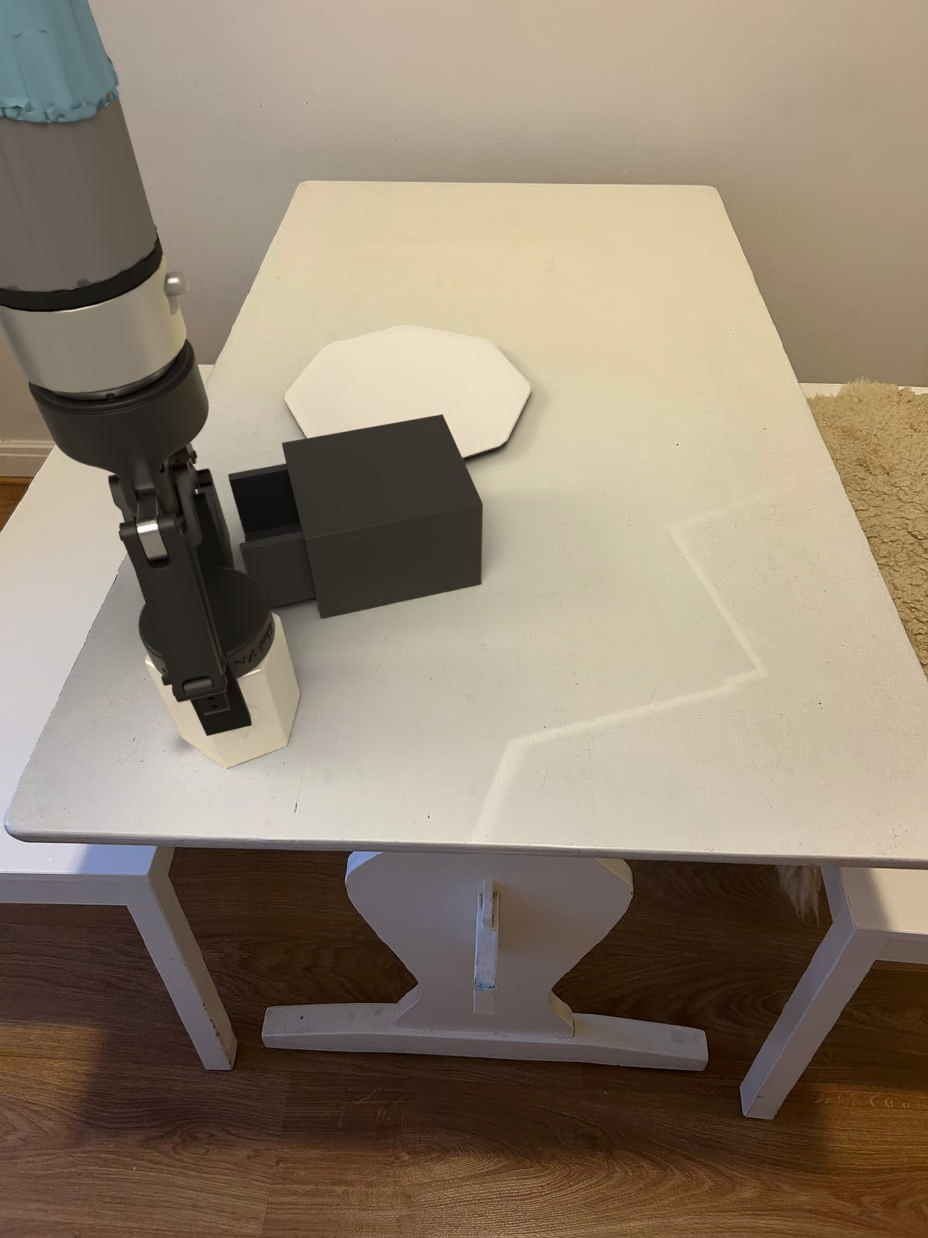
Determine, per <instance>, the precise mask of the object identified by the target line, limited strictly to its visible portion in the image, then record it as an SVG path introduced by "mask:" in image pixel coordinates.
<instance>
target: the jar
mask: <svg viewBox="0 0 928 1238" xmlns="http://www.w3.org/2000/svg"><path fill="white" fill-rule="evenodd" d="M201 572H202V576H203V580H204V584H205V588H206V592H207V596H208V600H209V604H210V608H211V612H212V616H213V620H214V624H215V627H216V631H217V635H218V639H219V643H220V647H221V651H224V650H226V652H227V654H228V657H229V660H230V662H231V665H232V668H233V670H234V673H235V676H236V678H237V681H238V684H239V686H240V689H241V691H242V694H243V697H244V699H245V702H246V705H247V707H248V710H249V713H250V715H251V722H252V725H251V726H247V727H243V728H239V729H235V730H231V731H227V732H223V733H218V734H214V735H210V736H206V733H205V731H204V729H203V727H202V725H201V723H200V720H199V718H198V716H197V714H196V712H195V710H194V708H193V705H192V703H191V701H190V700H188V701H184V702H180V703H178V702H177V701H176V698H175V697H174V696H173V693H172V685H167V686H164V684H163V682H162V679H161V677H162V675H163V674H164V673H166V672H167V669H166V666H165V663H164V660H163V656H162V653H161V650H160V647H159V644H158V641H157V638H156V635H155V631H154V628H153V625H152V622H151V619H150V616H149V613H148V610H147V606H146V603H145V602H144V604H143V605H142V606H143V607H142V608H141V610H140V614H139V617H138V624H137V625H138V633H139V638H140V640H141V643H142V645H143V646H144V649H145V651H146V656H145V658H144V664H145V666H146V668H147V670H148V672H149V674H150V677H151V678H152V680H153V683H154V685H155V686H156V689H157V691H158V693H159V694H160V697H161V698H162V701H163V703H164V706H165V707H166V709H167V711H168V713H169V715H170V717H171V719H172V721H173V723H174V725H175V727H176V730H177V731H178V734H179V736H180V738H181V739H182V740H184V741H185V742H186V743H188V744H189V745H191V746H192V747H194V748H195V749H197V750H198V751H199V752H201V754H203V755H205V756H206V757H208V758H209V759H211V760H212V761H213V762H214V763H216V764H218V765H219V766H220V767H221V768H222V769H229V768H233V767H235V766H237V765H241V764H243V763H245V762H248V761H250V760H251V761H252V760H253V759H256V758H258V757H262V756H264V755H267V754H269V753H272V752H274V751H278V750H280V749H282V748H285V747H287V745H288V744H289V740H290V736H291V732H292V729H293V724H294V721H295V718H296V714H297V713H296V712H297V709H298V706H299V701H300V697H301V692H300V688H299V684H298V681H297V676H296V672H295V668H294V666H293V660H292V658H291V654H290V650H289V646H288V643H287V639H286V635H285V632H284V627H283V624H282V619H281V617H280V616H279V615H278V614H276V613H275V612H274V611H272V607H270V604H269V600H268V597H267V594H266V592H265V590H264V588H263V587H262V586H261V584H260V583H259V582H258V581H257V580H256V579H254V578H253V577H252V576H250V575H248V574H247V572H244V571H241V570H239V569H236V568H235V569H232V568H226V567H205V568H201Z"/></svg>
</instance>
